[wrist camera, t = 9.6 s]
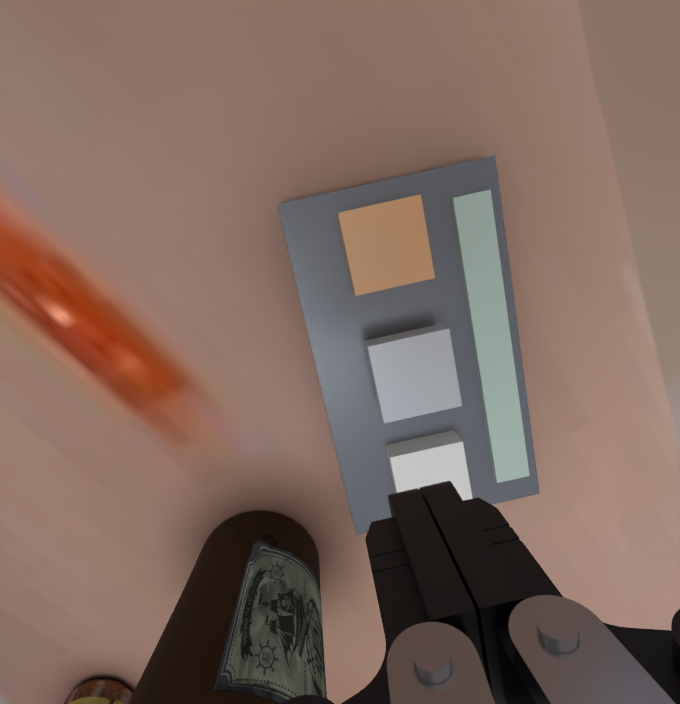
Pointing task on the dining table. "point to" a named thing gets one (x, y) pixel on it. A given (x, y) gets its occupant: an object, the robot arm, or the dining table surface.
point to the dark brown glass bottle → (243, 621)
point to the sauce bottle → (100, 693)
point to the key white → (430, 463)
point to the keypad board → (413, 313)
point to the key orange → (386, 245)
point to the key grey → (414, 372)
